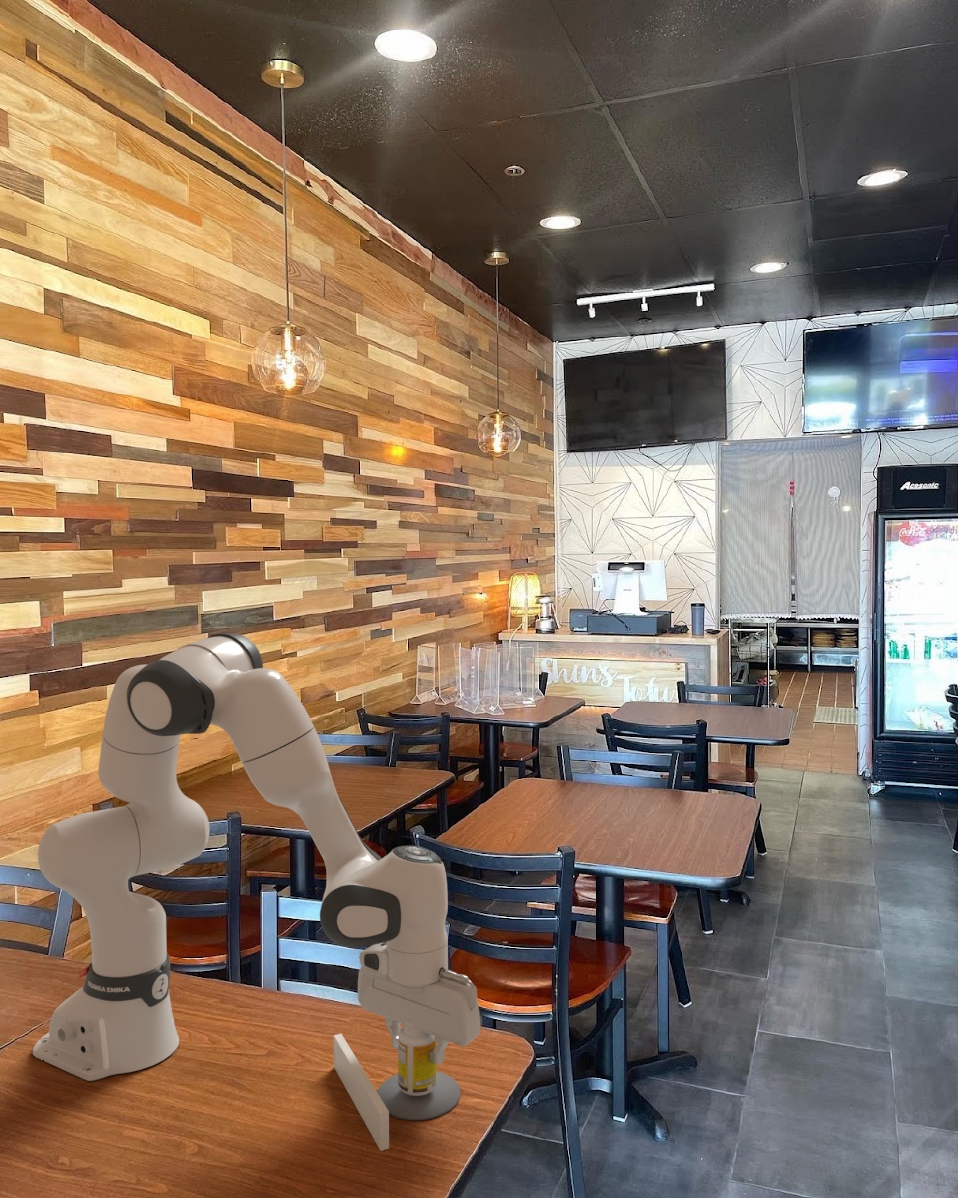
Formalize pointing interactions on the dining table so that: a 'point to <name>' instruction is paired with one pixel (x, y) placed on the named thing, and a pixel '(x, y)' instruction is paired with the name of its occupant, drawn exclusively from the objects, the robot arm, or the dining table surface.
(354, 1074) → the low wall
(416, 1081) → the supplement bottle
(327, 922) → the robot arm
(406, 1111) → the rest mat
